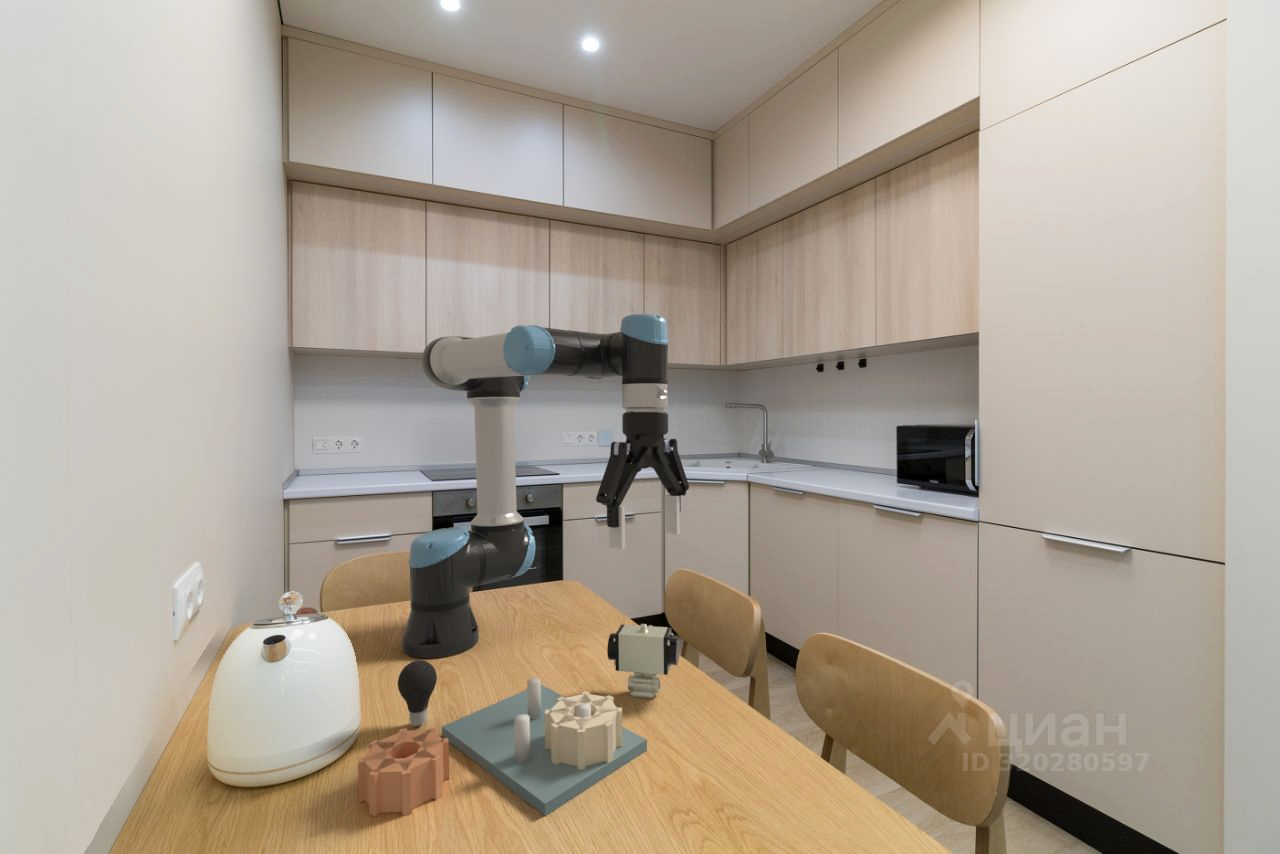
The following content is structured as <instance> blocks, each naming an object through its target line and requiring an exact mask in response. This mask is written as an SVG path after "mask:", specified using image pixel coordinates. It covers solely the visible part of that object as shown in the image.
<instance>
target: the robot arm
mask: <svg viewBox="0 0 1280 854" xmlns="http://www.w3.org/2000/svg"><path fill="white" fill-rule="evenodd" d="M620 323H621V324H620V328H619V331H617V332H609V333H596V332H585V331H579V330H578V331H577V330H567V329H566V330H565V329H558V328H552V327H551V328H550V327H542V326H540V325H533V324H532V325H529V324H528V325H521V324H520V325H516V326H513V327H512V328H511V329H510V331H509V332H504V333H499V334H492V335H486V336H480V337H467V336H458V335H457V336H456V335H455V336H454V335H452V336H442V337H441V336H440V337H438V338H435V339H434V340H432V341H430V342H429V343H428V344H427V345H426V346H425V348H424V350H423V351H422V355H421V367H422V370H423V373H424V375H425V377H427V379H429V380H430V381H431V383H432V384H435V385H436V386H437V387H440V388H442V389H445V390H448V391H449V390H450V391H459V392H460V391H461V392H466V400H467V402H468V403H470V405H472V406H473V408H474V435H475V439H474V440H475V445H474V446H475V465H476V466H475V471H476V473H475V474H476V476H475V477H476V500H477V501H476V503H477V505H476V506H477V508H476V509H477V513H476V516H474V518H473V519H472V520H471V522H470V532H469V530H468V529H467V528H466V527H461V526H451V527H448V528H446V527H444V528H443V527H442V528H439V529H434V530H430V531H428V532H425V533H422V534H421V535H419V536H417V537H416V538H415V539H413V540H412V542H411V544H410V549H409V550H410V551H409V560H408V565H409V581H410V583H409V584H410V587H409V589H410V612H409V615H408V620H407V622H406V625H405V628H404V633H403V635H402V644H401V645H402V652H403V653H404V654H405V655H407V656H410V657H414V658H421V659H435V658H443V657H450V656H452V655H453V656H454V655H457V654H460V653H463V652H465V651H467V650H469V649H471V648H473V647H474V646H475V645H476V644H477V643H478V642H479V639H480V631H479V626H478V623H477V620H476V618H475V617H476V616H475V615H474V612H473V609H472V607H471V603H470V602H471V601H470V589H471V588H474V587H478V586H482V585H483V586H484V585H487V584H492V583H495V582H500V581H503V580H504V581H508V580H511V579H513V578H514V577H515V578H516V577H519V576H521V575H523V574H525V573H526V572H527V571H529V569H530V568H531V566H532V565H533V563H534V559H535V554H536V540H535V536H534V535H533V531H532V528H531V527H530V526H529V525H527V524H525V520H524V519H525V518H524V517H523V516H522V515H521V514H520V513H519V512H518V510H517V507H518V506H517V504H518V503H517V480H516V479H517V477H516V475H517V473H516V450H515V449H516V448H515V442H516V441H515V412H514V411H515V409H514V407H515V405H516V404H517V403H518V402H519V401H520V400H521V393H522V392H524V390H526V389H527V387H528V385H529V382H530V378H531V376H566V377H567V376H568V377H582V378H585V379H590V380H591V379H594V380H595V379H597V380H602V379H604V378H611V377H613V378H614V377H621V408H622V409H624V410H625V412H623V414H622V415H621V417H622V420H621V422H622V423H621V425H622V426H621V427H622V428H621V429H622V434H623V435H624V436H625V437H626V438H625V442H624V441H612V442H610V443H611V444H610V451H609V453H610V454H609V455H610V456H609V458H608V462H607V464H606V468H605V471H604V474H603V476H602V479H601V482H600V485H599V489H598V491H597V494H596V498H595V500H596V502H597V503H600V504H601V505H603V506H606V525H607V527H608V529H609V530H608V531H609V532H608V533H609V547H611V548H615V549H619V550H623V549H626V506H625V505H622V504H623V501H624V499H625V497H626V496H627V493H628V491H629V490H630V488H631V486H632V484H633V482H634V480H635V478H636V477H637V474H638V473H640V472H641V471H642V469H649V468H651V469H653V471H654V472H655V473H656V475H657V477H658V478H659V480H660V482H661V484H662V485H663V487H664V488H665V490H666V492H667V494H665V495H664V533H666V534H672V535H680V534H681V532H680V531H681V529H680V528H681V526H680V525H681V523H680V522H681V520H680V519H681V518H680V517H681V515H680V514H681V509H682V508H681V507H682V505H681V501H682V498H681V497H682V496H686V495H687V491H688V490H689V489H690V485H689V482H688V478H687V476H686V472H685V469H684V467H683V464H682V460H681V457H680V453H679V450H678V449H679V448H678V440H677V439H676V438H665V437H664V436H665V435H667V434H668V433H669V414H668V412H666V411H665V409H668V405H669V403H668V401H669V399H668V385H669V384H668V383H669V382H668V381H669V380H668V366H669V365H668V358H669V355H668V354H669V352H668V351H669V343H670V342H669V337H668V326H667V321H666V319H665V317H663V316H661V315H659V314H652V313H636V314H629V315H626V316H625V317H623V318H622V319H621V322H620Z"/></svg>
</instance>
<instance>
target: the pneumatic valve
mask: <svg viewBox="0 0 1280 854" xmlns="http://www.w3.org/2000/svg"><path fill="white" fill-rule="evenodd" d="M680 646H681V645H680V638H679V637H674V633H673V632H672V627H667V626H653V625H651V624H649V625H647V624H646V623H641V624H640V625H639V624H638V625H637V624H635V625H634V624H624V623H623V624H620V626H619V628H618V629H617V630H616V633H615V632H612V633H609V636H608V640H607V649H606V652H607V654H606V655H607V659H608V660H609V661H613V666H614V665H615V666H614V667H615V672H617V671H618V672H629V673H633V674H631V675H629V676H628V678H627V689H628V691H630V695H631V696H632V697H633V698H639V699H654V698H655V694H658V693H660V691H661V678H660V677H659V676H658V677H657V675H663V676H664V675H666V676H667V675H669V672H670V669H671V666H678V665H679V662H680V661H679V660H680Z"/></svg>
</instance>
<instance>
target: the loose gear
mask: <svg viewBox="0 0 1280 854" xmlns="http://www.w3.org/2000/svg"><path fill="white" fill-rule="evenodd" d="M449 744H450V742H449V741H448V738H443V737H441V736H439V734H437V728H435V727H428V729H419V730H417V729H413V730H408V728H407V727H405V728H402V729H401V728H400V729H399V730H398V732H397V733H395V734H392V735H390V736H387V737H385V738H383V739H380V740H378V739H374V740H373V741H371V742H370V743H369V750H368V751H367V753H366V754H365V756H363V757H359V758H358V760H357V768H358V769H357V771H358V772H357V773H358V775H357V776H358V777H357V778H358V803H362V802H363V803H364V802H365V803H366V804H367V805H368V808H369V809H368V810H369V811H368V812H369V815H370V816H372V817H377V816H378V815H379V814H382V813H402V816H407V815H411V814H412V812H413V811H412V810H414V809H415V808H417V807H419V806H420V805H423V804H425V803H426V802H429V801H430V800H435V801H436V800H438V799H439V798H440V797H441V796H442V794H443V792H442V791H443V790H442V789H443V788H442V787H443V786H442V785H443V784H444V781H447V780H450V752H449V751H450V747H449V746H450V745H449Z"/></svg>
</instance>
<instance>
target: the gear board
mask: <svg viewBox="0 0 1280 854" xmlns="http://www.w3.org/2000/svg"><path fill="white" fill-rule="evenodd" d="M526 685H527V689H524V690H523V691H520V692H518V693H515V694H513V695H511V696H509V697H507V698H504V699H502V700H500V701H497V702H495V703H493V704H489V705H488V706H486V707H484V708H481V709H479V710H477V711H474V712H472V713H470V714H467V715H465V716H463V717H462V718H458V719H456V720H453V721H452V722H450V723H447V724H445V725H443V726H441V736H442V737H441V738H442V739H444V738H448V741H449V744H451V745H453V747H455V748H456V749H458V750H459V751H461V752H462V753H463V754H464V755H466V756H467V757H468V758H469V759H471V760H472V761H474V763H476V764H477V765H478V766H480V767H481V768H482V769H484V770H485V771H486V772H488V773H489V774H490V775H492V776H493V777H494V778H495V779H496V780H498V781H499V782H501V783H502V784H503V785H504V786H505V787H507V788H509V790H510V791H512V792H513V793H515V794H516V795H517V796H519V798H522V799H523V800H524V801H525V802H526V803H528V804H529V805H530V806H531V807H533V808H534V809H536V810H537V811H538V812H540V813H541V814H542V815H544V816H548V815H549V814H551V813H552V812H554V811H556V810H557V809H559V808H560V807H562V806H564V804H566V803H568V802H569V801H571V800H572V799H574V798H575V797H577V796H578V795H580V794H582V793H584V792H585V791H586V790H587V789H590V787H593V786H594V785H595V784H598V783H599V782H600V781H601V780H604V779H605V778H606V777H607V776H610V775H611V774H612V773H614V772H616V771H617V770H619V769H620V768H622V767H623V766H624V765H626V764H628V763H629V762H630V761H632V760H633V759H636V758H637V757H639V756H640V755H642V754H643V753H645V752H646V751H647V750H648V739H646V738H645V737H643V736H641V735H639V734H637V733H635V732H633V731H631V730H630V729H628V728H626V727H623V708H622V707H618V706H616V704H615V703H614V700H615V699H614V698H615V697H613V696H612V695H606V696H602V695H597V694H591V693H590V691H582V693H581V694H578V695H573V696H568V697H566V696H565V695H562V694H560V693H558V692H556V691H554V690H553V689H550V688H548V687H547V686H545V685H543V684H542V681H541V679H540V678H538V677H533V678H530V679H528V680H527V683H526Z"/></svg>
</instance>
